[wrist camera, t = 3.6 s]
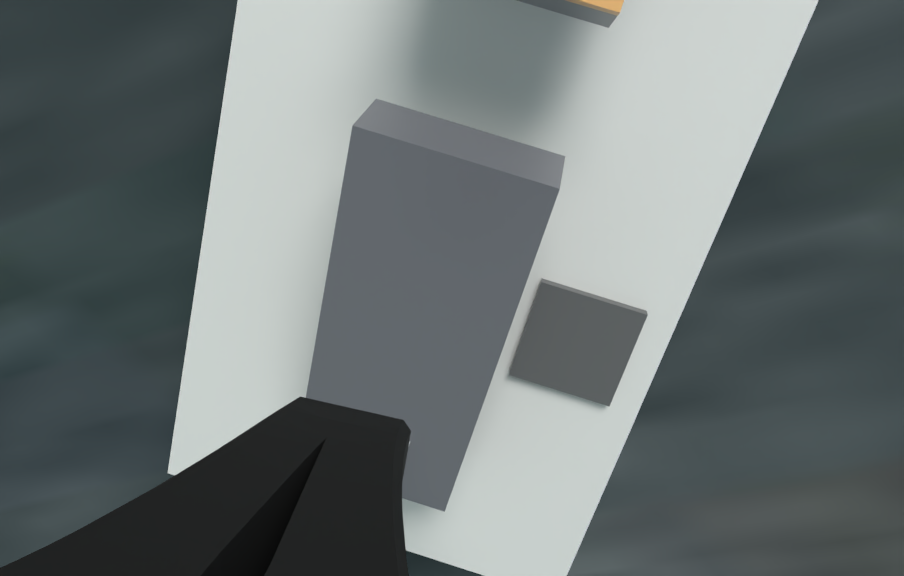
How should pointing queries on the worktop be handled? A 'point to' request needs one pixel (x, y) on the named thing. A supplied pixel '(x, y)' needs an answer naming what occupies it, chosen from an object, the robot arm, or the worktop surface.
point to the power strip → (561, 249)
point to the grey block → (428, 278)
